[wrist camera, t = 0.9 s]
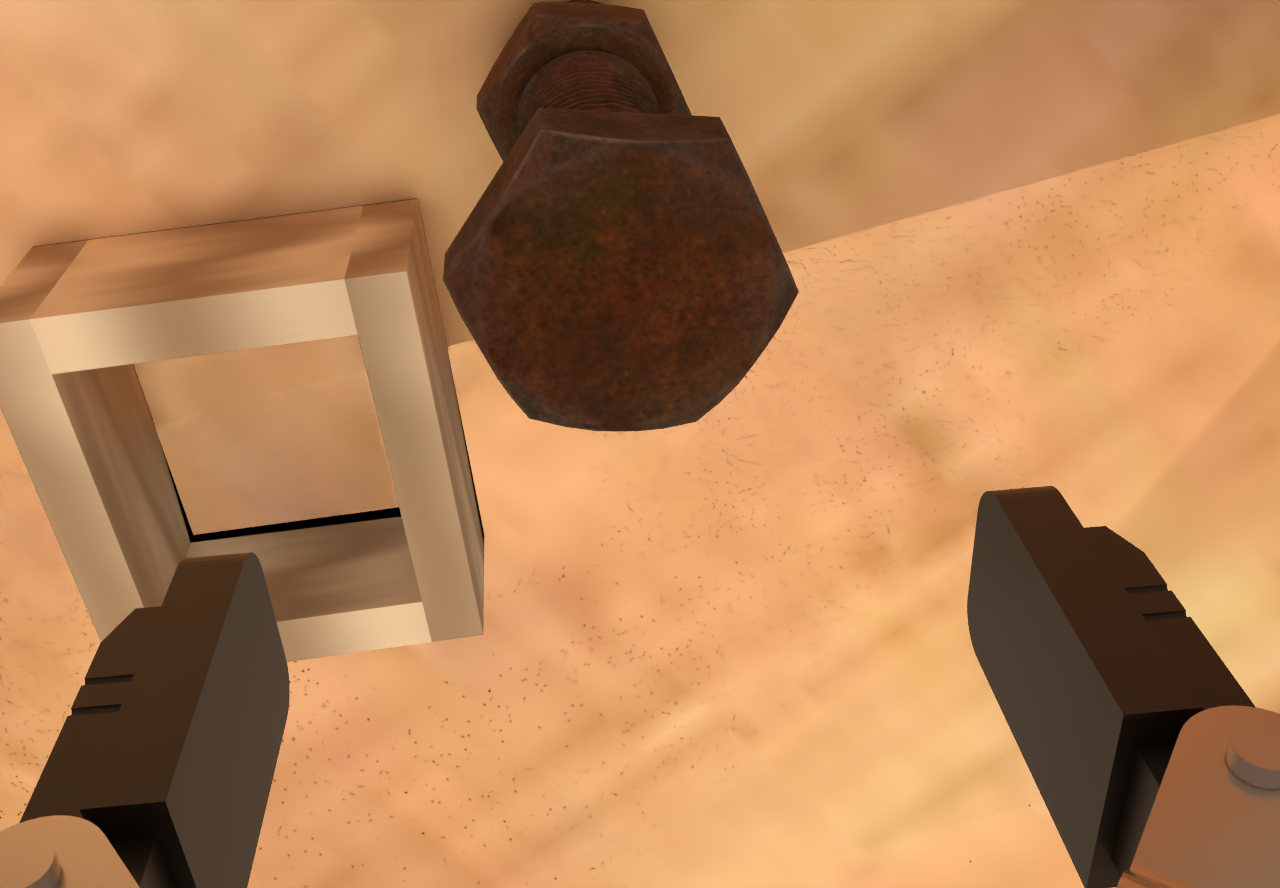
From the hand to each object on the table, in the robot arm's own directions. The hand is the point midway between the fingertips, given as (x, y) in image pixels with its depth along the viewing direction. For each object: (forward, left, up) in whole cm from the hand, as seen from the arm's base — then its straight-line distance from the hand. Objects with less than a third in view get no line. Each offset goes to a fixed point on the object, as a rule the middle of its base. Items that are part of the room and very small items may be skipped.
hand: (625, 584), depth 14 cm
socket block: (+9, +9, -22) cm, 25 cm away
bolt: (-1, 0, -22) cm, 22 cm away
